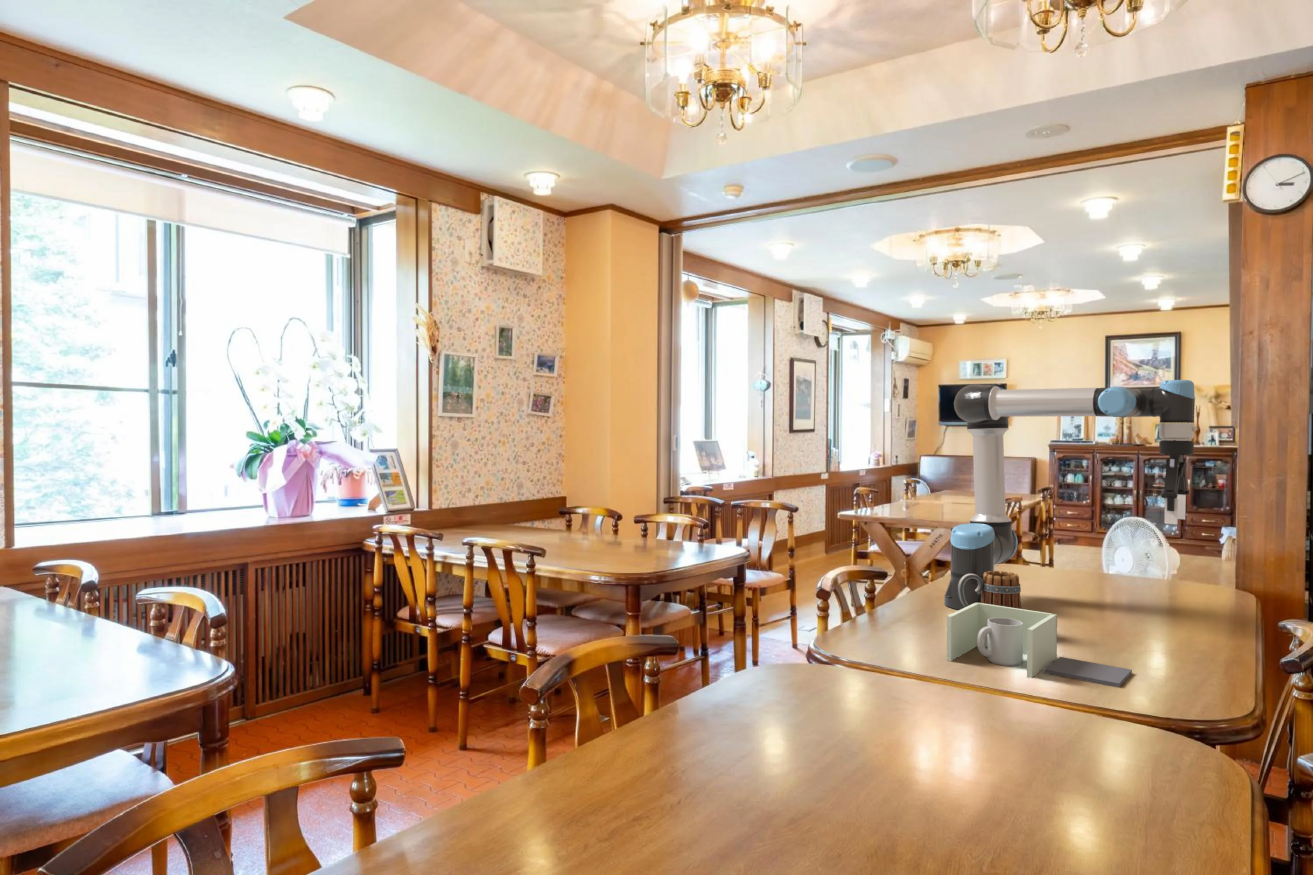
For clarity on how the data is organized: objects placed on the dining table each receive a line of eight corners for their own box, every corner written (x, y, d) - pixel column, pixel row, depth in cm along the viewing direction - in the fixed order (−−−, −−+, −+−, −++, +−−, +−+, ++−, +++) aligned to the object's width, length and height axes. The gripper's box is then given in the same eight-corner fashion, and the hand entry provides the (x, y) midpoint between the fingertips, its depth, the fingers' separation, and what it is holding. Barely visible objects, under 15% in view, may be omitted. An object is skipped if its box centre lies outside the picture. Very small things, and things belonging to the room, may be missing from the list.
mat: (1044, 672, 168) (1044, 669, 168) (1060, 660, 177) (1060, 656, 177) (1119, 687, 159) (1119, 683, 159) (1131, 673, 168) (1131, 669, 168)
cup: (1029, 665, 173) (1029, 625, 173) (985, 667, 172) (985, 626, 172) (1011, 656, 180) (1012, 617, 180) (969, 657, 179) (969, 618, 179)
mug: (1014, 627, 205) (1015, 570, 205) (1029, 638, 195) (1030, 578, 195) (952, 626, 207) (953, 569, 207) (964, 637, 196) (964, 577, 196)
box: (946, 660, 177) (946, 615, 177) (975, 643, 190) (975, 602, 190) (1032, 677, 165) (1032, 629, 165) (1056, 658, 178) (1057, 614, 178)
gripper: (1186, 440, 193) (1185, 527, 193) (1200, 439, 212) (1198, 518, 212) (1151, 440, 198) (1149, 524, 198) (1167, 438, 217) (1166, 515, 217)
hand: (1175, 521), depth 205 cm, fingers open, 13 cm apart
